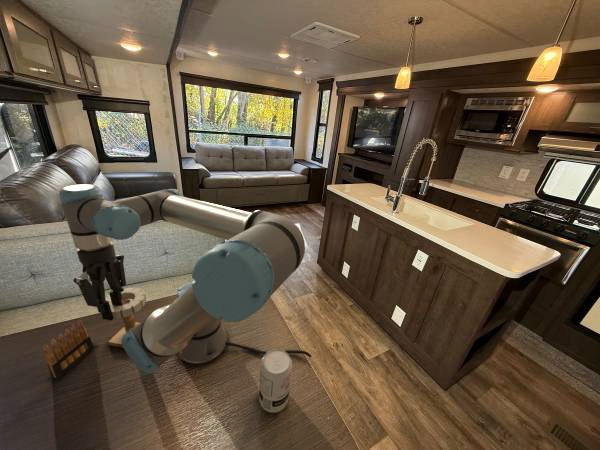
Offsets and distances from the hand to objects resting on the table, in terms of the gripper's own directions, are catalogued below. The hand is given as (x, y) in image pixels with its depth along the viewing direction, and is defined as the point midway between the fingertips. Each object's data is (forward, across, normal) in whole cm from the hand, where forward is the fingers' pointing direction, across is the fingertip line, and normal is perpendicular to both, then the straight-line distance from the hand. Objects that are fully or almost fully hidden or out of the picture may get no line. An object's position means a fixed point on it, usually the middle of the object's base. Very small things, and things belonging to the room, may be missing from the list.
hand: (113, 314), depth 73 cm
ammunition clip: (+14, +7, -9) cm, 18 cm away
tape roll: (0, -4, 0) cm, 4 cm away
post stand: (+14, -4, 0) cm, 14 cm away
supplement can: (+14, +6, +51) cm, 53 cm away
